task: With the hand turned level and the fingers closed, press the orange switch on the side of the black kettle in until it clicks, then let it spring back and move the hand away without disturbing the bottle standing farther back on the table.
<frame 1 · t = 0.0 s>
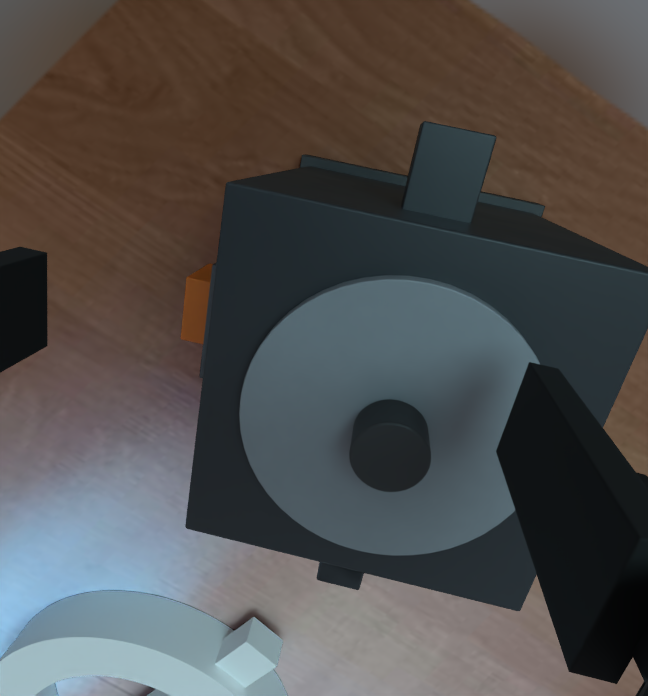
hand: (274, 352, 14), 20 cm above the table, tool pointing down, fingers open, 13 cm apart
kettle switch: (213, 304, 25), point 10 cm above the table, slide at 0.1 cm
kettle: (392, 291, 34), on the table
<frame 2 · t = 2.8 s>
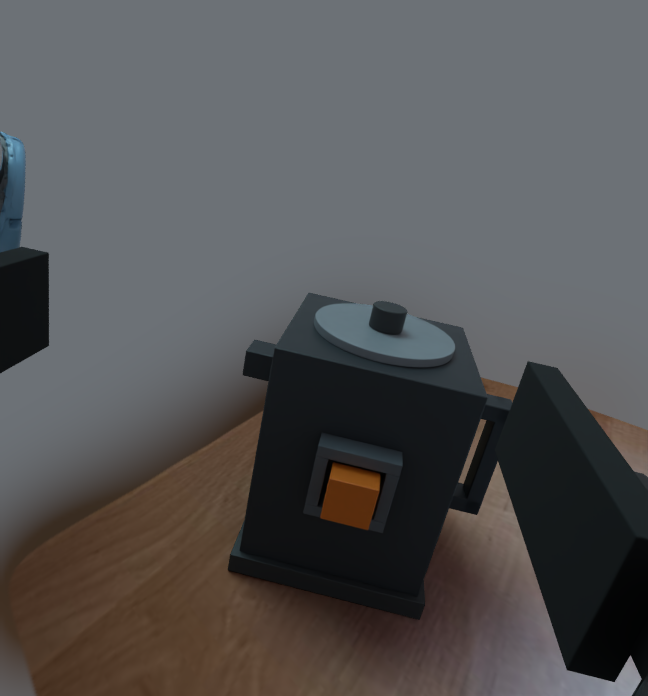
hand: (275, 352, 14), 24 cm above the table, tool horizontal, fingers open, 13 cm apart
kettle switch: (350, 495, 32), point 10 cm above the table, slide at 0.1 cm
kettle: (333, 528, 44), on the table
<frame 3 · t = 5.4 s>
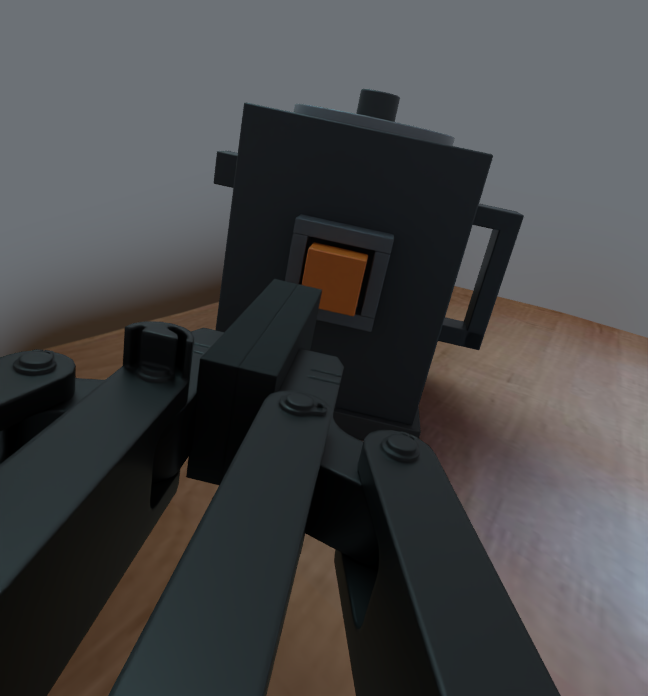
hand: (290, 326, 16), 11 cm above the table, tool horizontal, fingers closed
kettle switch: (333, 279, 28), point 10 cm above the table, slide at 0.1 cm
kettle: (319, 380, 39), on the table
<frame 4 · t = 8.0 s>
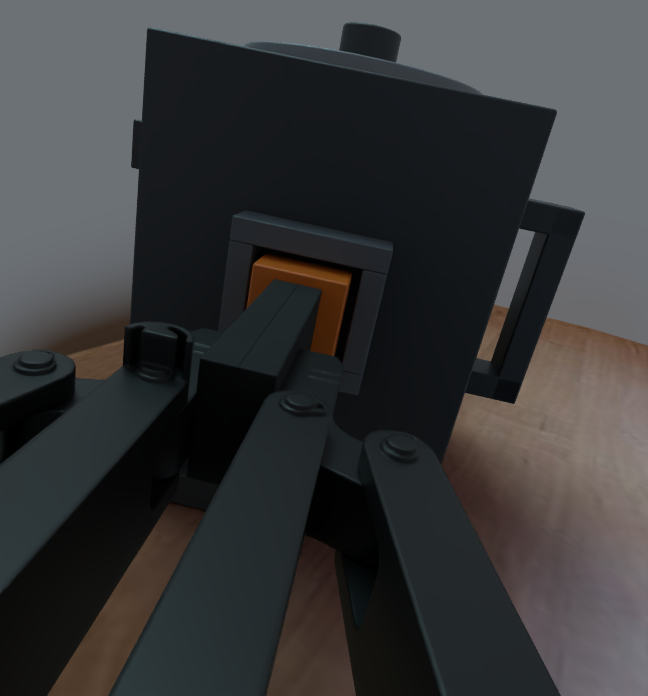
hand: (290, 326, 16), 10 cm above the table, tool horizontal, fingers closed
kettle switch: (297, 311, 17), point 10 cm above the table, slide at -0.2 cm, touching gripper
kettle: (291, 439, 29), on the table
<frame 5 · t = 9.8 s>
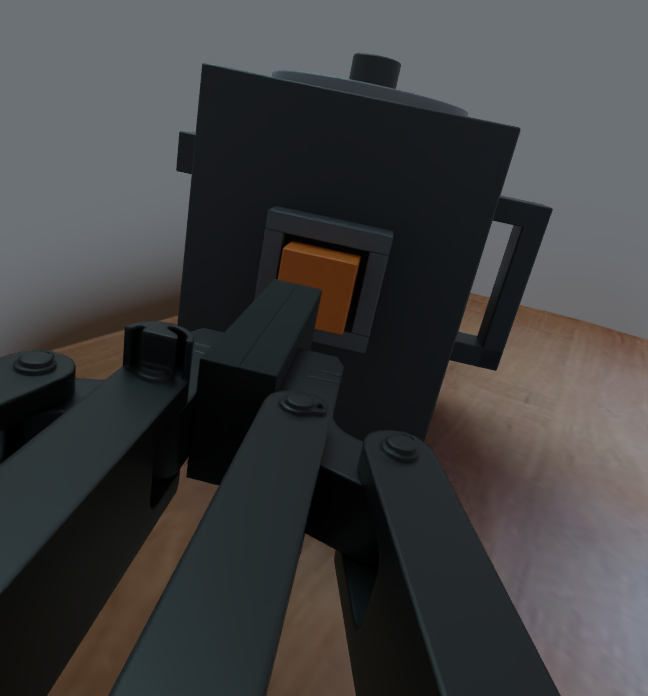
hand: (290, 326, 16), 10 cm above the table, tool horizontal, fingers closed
kettle switch: (316, 287, 22), point 10 cm above the table, slide at 0.1 cm
kettle: (306, 404, 33), on the table
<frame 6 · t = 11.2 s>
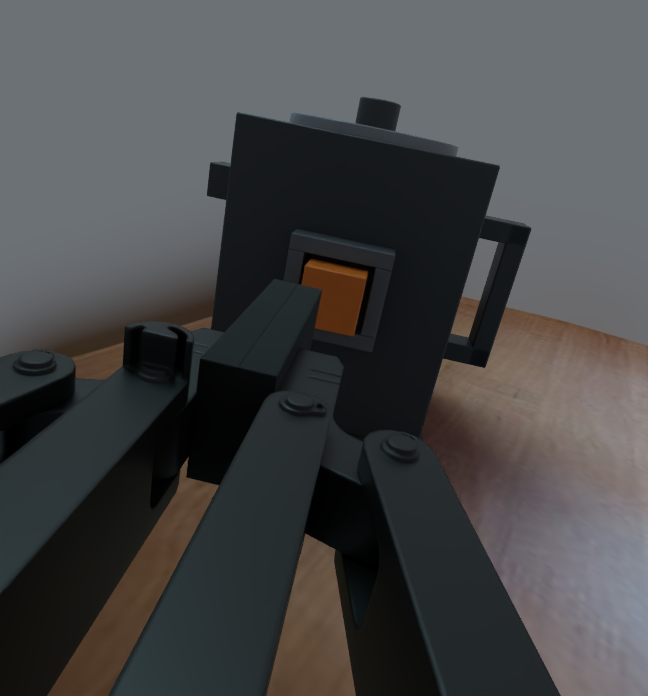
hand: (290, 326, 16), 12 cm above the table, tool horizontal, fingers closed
kettle switch: (331, 297, 26), point 10 cm above the table, slide at 0.1 cm
kettle: (318, 398, 38), on the table
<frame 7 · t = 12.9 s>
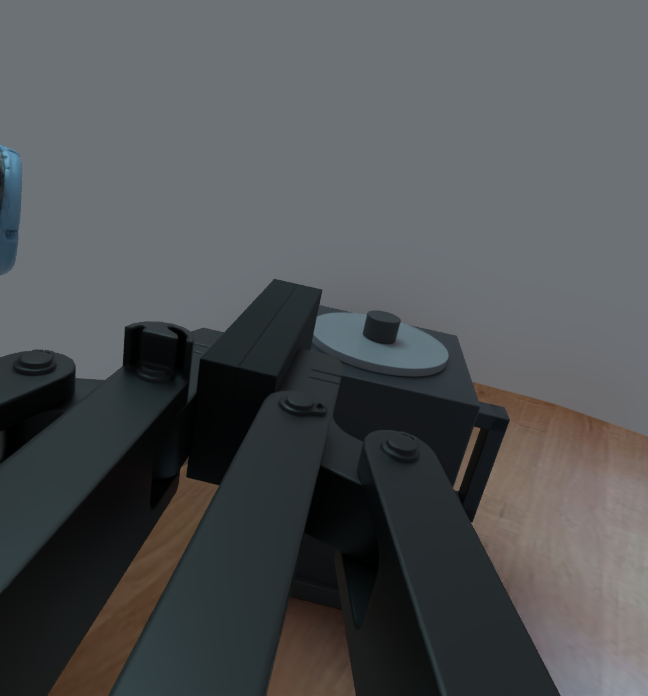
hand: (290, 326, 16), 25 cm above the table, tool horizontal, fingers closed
kettle: (329, 536, 44), on the table
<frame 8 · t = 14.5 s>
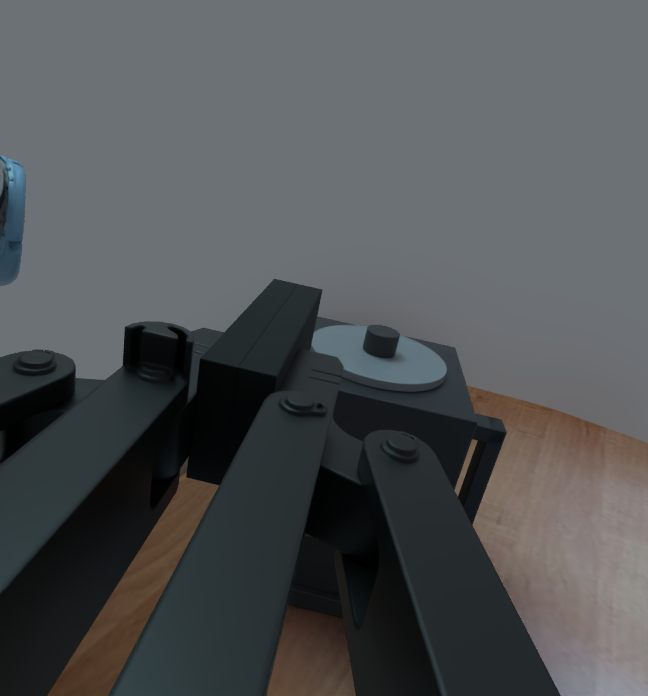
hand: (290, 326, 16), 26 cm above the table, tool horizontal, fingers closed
kettle: (329, 544, 45), on the table
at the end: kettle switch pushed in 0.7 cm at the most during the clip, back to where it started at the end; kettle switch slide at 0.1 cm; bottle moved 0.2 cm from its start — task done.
